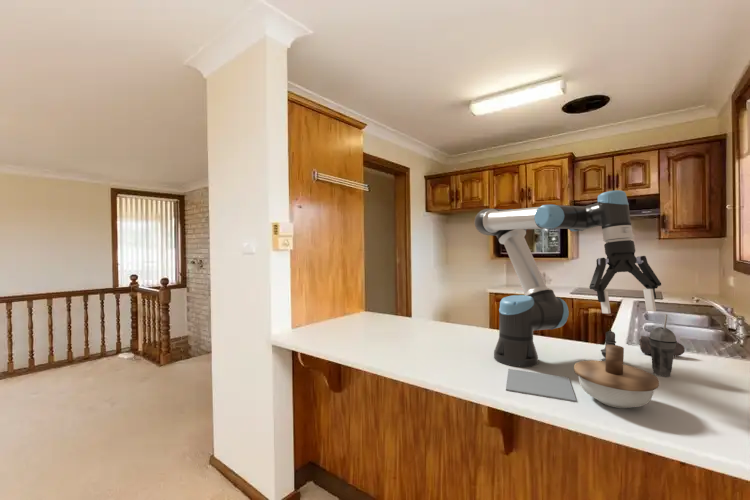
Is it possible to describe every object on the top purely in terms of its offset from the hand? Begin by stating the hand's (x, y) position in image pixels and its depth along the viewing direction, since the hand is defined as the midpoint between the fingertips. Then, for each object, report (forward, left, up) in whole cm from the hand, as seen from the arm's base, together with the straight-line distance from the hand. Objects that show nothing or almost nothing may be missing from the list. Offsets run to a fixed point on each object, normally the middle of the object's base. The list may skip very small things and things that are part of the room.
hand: (628, 312), depth 103 cm
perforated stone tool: (+21, +44, -23) cm, 54 cm away
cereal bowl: (-6, -11, -23) cm, 26 cm away
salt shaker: (+1, +27, -23) cm, 36 cm away
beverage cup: (+14, +19, -23) cm, 33 cm away
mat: (-24, -7, -23) cm, 34 cm away
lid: (-6, -11, -16) cm, 20 cm away
